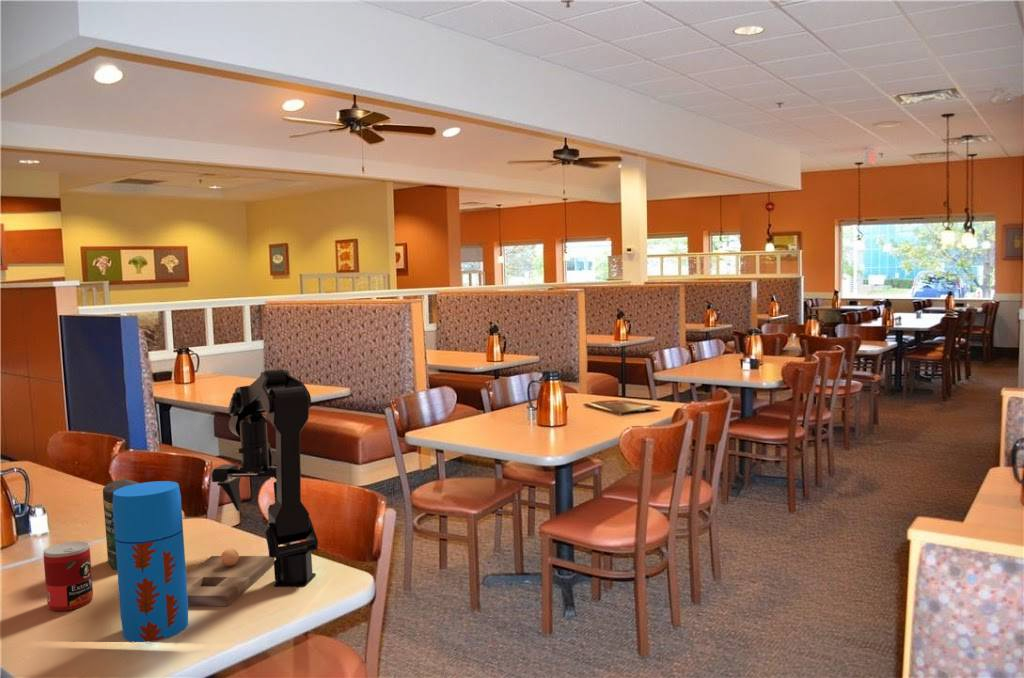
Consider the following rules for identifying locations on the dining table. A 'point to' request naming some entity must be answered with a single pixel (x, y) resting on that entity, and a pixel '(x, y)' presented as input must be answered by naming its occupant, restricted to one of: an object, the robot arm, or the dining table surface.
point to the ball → (229, 557)
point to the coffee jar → (109, 518)
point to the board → (224, 579)
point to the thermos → (150, 560)
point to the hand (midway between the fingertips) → (258, 510)
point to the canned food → (68, 575)
